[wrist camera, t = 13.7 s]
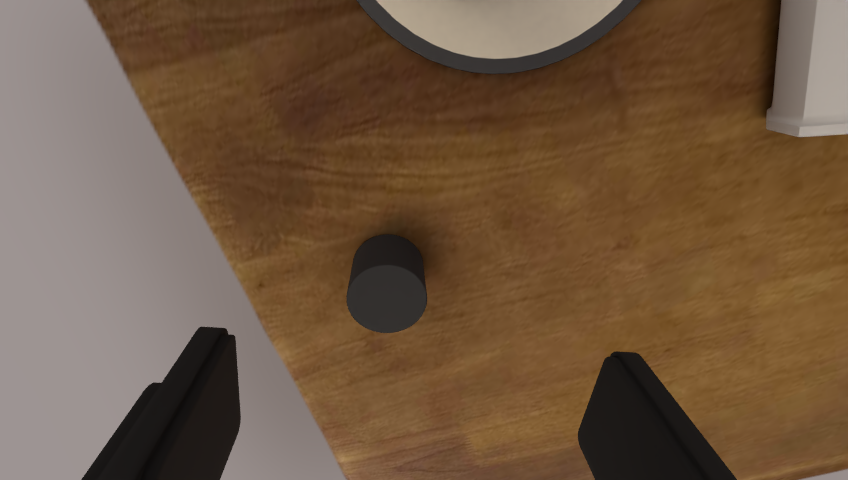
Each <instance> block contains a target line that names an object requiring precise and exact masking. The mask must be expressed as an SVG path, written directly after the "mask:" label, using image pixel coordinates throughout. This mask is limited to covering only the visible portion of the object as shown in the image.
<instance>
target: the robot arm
mask: <svg viewBox="0 0 848 480" xmlns="http://www.w3.org/2000/svg"><path fill="white" fill-rule="evenodd" d="M240 417H241V416H240V402H239V386H238V371H237V355H236V341H235V336H234V335H228V331H227V329H225V328H213V327H200V328H198V330H197V331H196V332H195V334H194V335H193V337H192V338H191V340H190V342H189V343H188V344H187V346H186V347H185V349H184V350H183V352H182V353H181V355H180V356H179V358H178V360H177V361H176V362H175V364H174V366H173V367H172V368H171V370H170V371H169V373H168V374H167V376H166V377H165V379H164V380H163V382H162V383H152V384H151V385H149V386H148V387H147V388H146V389H145V390H144V391H143V393H142V395H141V396H140V397H139V399H138V400H137V401H136V403H135V404H134V406H133V407H132V409H131V410H130V412H129V413H128V415H127V416H126V417H125V419H124V420H123V421H122V423H121V424H120V426H119V427H118V428H117V430H116V431H115V433H114V434H113V436H112V437H111V438H110V440H109V441H108V443H107V444H106V446H105V447H104V448H103V450H102V451H101V453H100V454H99V455H98V457H97V458H96V460H95V461H94V463H93V464H92V465H91V467H90V468H89V470H88V471H87V473H86V474H85V475H84V477H83V478H82V480H220V478H221V475H222V473H223V470H224V468H225V465H226V462H227V460H228V457H229V455H230V452H231V450H232V446H233V445H234V442H235V440H236V437H237V434H238V431H239V427H240ZM578 441H579V445H580V447H581V450H582V452H583V454H584V456H585V458H586V460H587V463H588V465H589V467H590V469H591V471H592V474H593V476H594V478H595V480H737V479H736V478H735V476H734V475H733V474H732V473H731V471H730V470H729V469H728V467H727V466H726V465H725V464H724V462H723V461H722V460H721V458H720V457H719V456H718V455H717V453H716V452H715V451H714V449H713V448H712V447H711V446H710V444H709V443H708V442H707V440H706V439H705V438H704V437H703V435H702V434H701V433H700V431H699V430H698V429H697V428H696V426H695V425H694V424H693V422H692V421H691V420H690V419H689V417H688V416H687V415H686V413H685V412H684V411H683V410H682V408H681V407H680V406H679V404H678V403H677V402H676V401H675V399H674V398H673V397H672V395H671V394H670V393H669V392H668V390H667V389H666V388H665V386H664V385H663V384H662V383H661V381H660V380H659V379H658V377H657V376H656V375H655V374H654V372H653V371H652V370H651V368H650V367H649V366H648V365H647V363H646V362H645V361H644V359H643V358H642V357H641V356H640V355H639V354H638V353H632V352H613V353H612V354H611V356H610V357H607V358H605V360H604V362H603V365H602V368H601V370H600V373H599V376H598V379H597V381H596V384H595V387H594V390H593V392H592V395H591V398H590V401H589V403H588V406H587V409H586V411H585V414H584V417H583V420H582V422H581V425H580V428H579V431H578Z"/></svg>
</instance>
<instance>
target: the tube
mask: <svg viewBox="0 0 848 480" xmlns="http://www.w3.org/2000/svg"><path fill="white" fill-rule="evenodd" d="M766 129H767V130H771V131H775V132H780V133H784V134H788V135H792V136H796V137H811V136H827V135H843V134H848V0H781V11H780V23H779V34H778V45H777V57H776V68H775V80H774V91H773V102H772V106H771V107H770V108H769V109H767V114H766Z"/></svg>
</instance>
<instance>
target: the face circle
mask: <svg viewBox="0 0 848 480" xmlns="http://www.w3.org/2000/svg"><path fill="white" fill-rule="evenodd" d="M356 1H357V2H358V3H359V4H360V6H361V7H362V8H363V9H364V10H365V12H366V13H367V14H368V15H369V16H370V17H371V18H372V19H373V20H374V21H375V22H376V23H377V24H378V25H379V26H380V27H381V28H382V29H383V30H384V31H385V32H386V33H388V34H389V35H390V36H392V37H393V38H394V39H396V40H397V41H398V42H400V43H401V44H402V45H404V46H405V47H407V48H408V49H410V50H412V51H414V52H416V53H417V54H419V55H421V56H423V57H425V58H427V59H429V60H431V61H434V62H437V63H439V64H442V65H444V66H447V67H450V68H454V69H459V70H463V71H468V72H473V73H486V74H504V73H518V72H523V71H527V70H532V69H537V68H541V67H544V66H547V65H549V64H552V63H555V62H558V61H561V60H563V59H565V58H567V57H569V56H571V55H573V54H575V53H577V52H579V51H581V50H583V49H585V48H586V47H588V46H589V45H591V44H592V43H594V42H595V41H597V40H598V39H600V38H601V37H603V36H604V35H605V34H606V33H608V32H609V31H610V30H611V29H612V28H614V27H615V26H616V25H617V24H618V23H620V22H621V21H622V20H623V19H624V18H625V17H626V16H627V15H628V14H629V13H630V12H631V11H632V10H633V9H634V8H635V7H636V6H637V5H638V4H639V2H640V1H641V0H356Z"/></svg>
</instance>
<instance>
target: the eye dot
mask: <svg viewBox="0 0 848 480" xmlns="http://www.w3.org/2000/svg"><path fill="white" fill-rule="evenodd" d="M426 304H427V292H426V284H425V276H424V268H423V260H422V257H421V254H420V252H419V250H418V249H417V248H416V246H415V245H414V244H413V243H411V242H410V241H409V240H407V239H405V238H403V237H400V236H397V235H388V234H387V235H379V236H376V237H373V238H371V239H369V240H367V241H366V242H364V243H363V244H362V245H361V246H360V247H359V249H358V250H357V252H356V254H355V256H354V259H353V265H352V270H351V275H350V281H349V286H348V291H347V306H348V309H349V311H350V313H351V315H352V316H353V318H354V319H355V320H356V321H357V322H358V323H359V324H360V325H362V326H363V327H365V328H367V329H369V330H372V331H376V332H381V333H393V332H398V331H401V330H404V329H406V328H408V327H410V326H412V325H413V324H414V323H415V322H417V321H418V320H419V318H420V317H421V316H422V314H423V312H424V310H425V308H426Z"/></svg>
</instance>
